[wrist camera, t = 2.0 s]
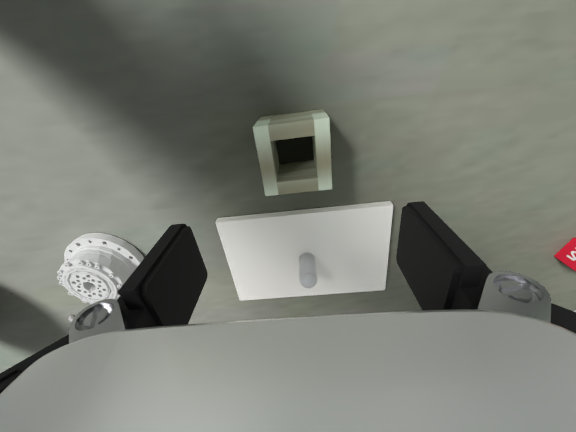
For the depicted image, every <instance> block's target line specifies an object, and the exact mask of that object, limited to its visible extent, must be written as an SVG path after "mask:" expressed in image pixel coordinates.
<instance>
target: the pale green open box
mask: <svg viewBox="0 0 576 432" xmlns="http://www.w3.org/2000/svg"><path fill="white" fill-rule="evenodd" d="M253 132H254V138H255V143H256V148H257V154H258V159H259V165H260V170H261V175H262V181H263V186H264V191H265V196H272V195H282V194H291V193H301V192H311V191H320V190H330V189H332V169H331V143H330V118H329V116H328V115H327V114H326V112H325V111H324V110H323V109H319V110H311V111H303V112H296V113H288V114H280V115H273V116H265V117H260V118H259V119H258V121H257V122H256V123H255V125H254V126H253ZM308 136H312V144H313V157H314V160H310V161H301V162H293V163H284V164H279V158H278V151H277V144H276V140H283V139H291V138H299V137H308Z"/></svg>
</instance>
